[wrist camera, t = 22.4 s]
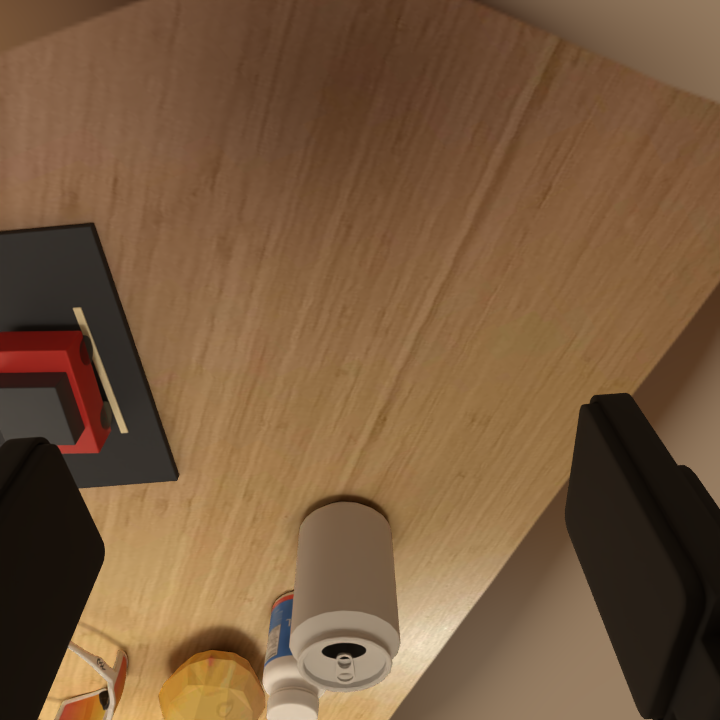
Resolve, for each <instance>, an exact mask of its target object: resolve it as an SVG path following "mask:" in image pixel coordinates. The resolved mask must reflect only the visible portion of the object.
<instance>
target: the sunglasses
mask: <svg viewBox="0 0 720 720" xmlns="http://www.w3.org/2000/svg"><path fill="white" fill-rule="evenodd" d="M68 648H69V649H70V650H72V651H73V652H75V653H76V654H77V655H79V656H80V657H81V658H83V659H84V660H85V661H86V662H87V663H88V664H90V665H91V666H92V667H93V668H94V669H95V670H96V671H97V672H98V673H99V674H100V675H101V676H102V677H103V678H104V679H105V680H106V681H107V682H108V689H105V688H104V689H101V690H98V691H95V692H92V693H89V694H85V695H82V696H78V697H75V698H71V699H68V700H64V701H63V702H62V704H61V706H60V708H59V710H58V712H57V715H56V717H55V719H54V720H112V718H113V715H114V713H115V710H116V708H117V706H118V703H119V701H120V699H121V695H122V692H123V689H124V684H125V678H126V672H127V668H128V659H127V655H126V653H125V652H124V651H123V650H118V653H117V657H116V661H115V664H114V667H113V669H112V668H111V667H109V666H108V665H107V664H106V662H105V661H104V660H103V659H102V658H101V657H98V656H95V655H93V654H91V653H89V652H87V651H85V650H84V649H82V648H81V647H79V646H78V645H76V644H75V643H73V642H72V641H70V643H69V646H68ZM38 720H40V719H39V718H38Z"/></svg>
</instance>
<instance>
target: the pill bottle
mask: <svg viewBox="0 0 720 720" xmlns="http://www.w3.org/2000/svg"><path fill="white" fill-rule="evenodd" d="M293 597H294V591H293V592H289V593H286V594H284V595H282V596H281V597H280V598H278V599H277V600H276V602H275V603H274V605H273V608H272V613H271V621H270V628H269V635H268V643H267V650H266V657H265V664H264V672H263V686H264V689H265V691H266V692H267V693H268V694H269V695H270V696H269V699H268V703H267V704H268V705H267V720H317V719H318V708H319V698H320V697H321V696H322V695H323V694H324V693H325V691H326V690H324V689H320V688H318V687H316V686H314V685H312V684H309V683H308V682H307V681H306V680H305V679H304V678H303V677H302V676H300V673H299V671H298V669H297V660H296V659H295V658H294V657H293V655H292V652H291V650H290V648H289V643H290V631H291V620H292V609H293Z"/></svg>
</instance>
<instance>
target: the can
mask: <svg viewBox="0 0 720 720" xmlns="http://www.w3.org/2000/svg"><path fill="white" fill-rule="evenodd" d="M399 646H400V632H399V620H398V607H397V595H396V582H395V570H394V557H393V545H392V533H391V529H390V525H389V523H388V522H387V520H386V519H385V518H384V516H383V515H382V514H380V513H379V512H377V511H376V510H374V509H373V508H370V507H367V506H365V505H362V504H359V503H356V502H345V501H343V502H336V503H331V504H329V505H326V506H324V507H321V508H319V509H316V510H315V511H313V512H312V513H311V514H310V515H308V516H307V517H306V518H305V519H304V521H303V523H302V524H301V526H300V530H299V540H298V552H297V563H296V574H295V586H294V597H293V609H292V620H291V631H290V643H289V648H290V650H291V652H292V655H293V657H294V658H295V659H296V660H297V669H298V671H299V673H300V676H302V677H303V678H304V679H305V680H306V681H307V682H308V683H309V684H312V685H314V686H316V687H318V688H320V689H324V690H328V691H332V692H353V691H361V690H364V689H367V688H370V687H373V686H375V685H376V684H378V683H380V682H381V681H383V680H384V679H385V678H386V677H387V675H388V674H389V673H390V671H391V667H392V659H393V658H394V657H395V656H396V654H397V653H398V650H399Z"/></svg>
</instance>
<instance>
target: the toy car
mask: <svg viewBox="0 0 720 720" xmlns="http://www.w3.org/2000/svg"><path fill="white" fill-rule="evenodd" d="M92 356H93V348H92V343H91V340H90V338H89V337H88V336H86V335H82V332H81V331H17V332H0V430H1V432H2V434H3V437H4V439H5V441H7V440H10V439H16V438H29V437H45V438H46V439H47V440H48V441H49V442H50V444H55V445H57V446H58V448H59V449H60V451H61V453H62V454H64V453H99V452H100V451H101V449H102V447H103V445H104V443H105V441H106V439H107V437H108V435H109V434H110V432H111V427H110V424H111V420H112V411H111V406H110V404H109V403H108V402H106V401H102V398H101V395H100V391H99V388H98V385H97V381H96V378H95V375H94V371H93V368H92V365H91V360H92Z"/></svg>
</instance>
